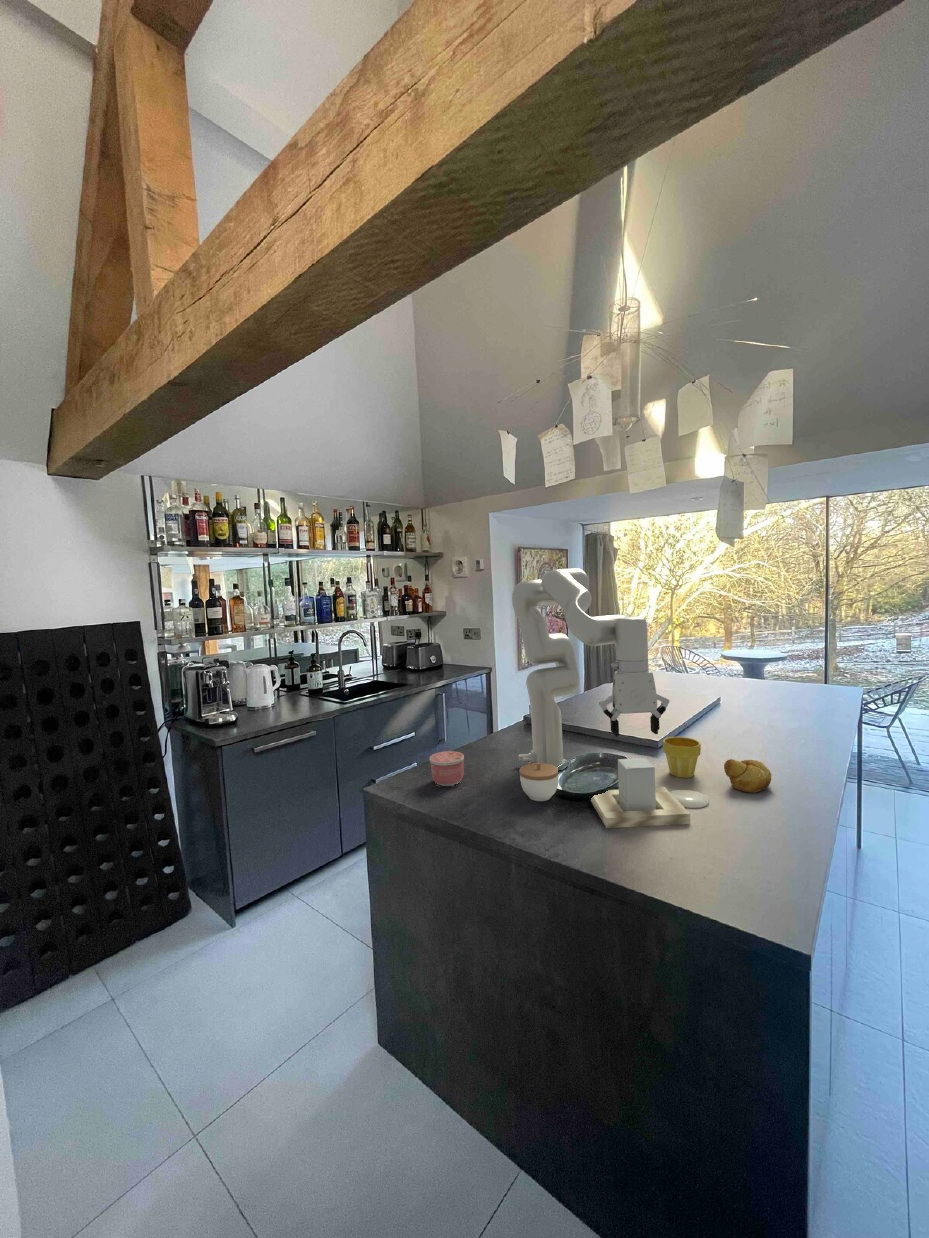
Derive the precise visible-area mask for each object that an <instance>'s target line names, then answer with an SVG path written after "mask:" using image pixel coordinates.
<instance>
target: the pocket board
mask: <svg viewBox="0 0 929 1238" xmlns="http://www.w3.org/2000/svg"><path fill="white" fill-rule="evenodd" d="M607 790H608V791H606V792H605V793H602V794H598V795H594V796H593V797H592V798H591V800H590V802H591V804H592V806H593V807H594V809H595V811H596V812H597V813H596V814H597V815H598V816H599V818H600V820H601V821H602V823H603V825H604V826H605V829H615V828H617V829H618V828H619V829H620V828H635V827H653V826H656V827H657V826H658V827H659V826H673V825H675V826H676V825H691V812H689V810H687V809H686V808H685V807H683V806H682V805H681V804H680V803H679V802H678V801H677V800H676V799H675V798H674V797H673V795H672V794H671V793H670V792H671V791H669V790H668V789H667V788H666V787H665V786H660V787H655V795H656V810H641V811H623V810H622V809H621V807H620V806H619V789H607Z"/></svg>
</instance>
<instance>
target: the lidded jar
mask: <svg viewBox="0 0 929 1238" xmlns="http://www.w3.org/2000/svg"><path fill="white" fill-rule="evenodd" d="M518 771H519V777H520V778H519V780H520V784H521V788H522V790H523V792H524V794H525V795H526V796H528V798H529V799H530V800H532V801H536V802H546V801H549V800H550V799H551V798H552V796H553V795H554V794H555V793H556V792H557V790H558V786H559V772H558V768H557V767H556V766H554V765H551V764H547V763H531V764H529V763H527V764H524V765H522V766H521V767H520V768H519V770H518Z"/></svg>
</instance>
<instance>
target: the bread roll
mask: <svg viewBox="0 0 929 1238" xmlns="http://www.w3.org/2000/svg"><path fill="white" fill-rule="evenodd" d="M723 769H724V772H725V775H726V776H727V777H728V778H729V780H730V784H731V786H732V787H733V788H734V789H736V790H739V791H741V792H746V793H751V794H752V793H757V792H760V791H762V790H764V789H766V788H768V787H769V786H770V784H771V781H772V772H771V771H770V769H769V768H768V767H767V766H766V764H764V763H763V762H762V761H759V760H754V759H744V760H741V761H739V760H735V759H733V758H731V759H727V760H726V761H725V762H724V765H723Z"/></svg>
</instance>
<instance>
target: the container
mask: <svg viewBox="0 0 929 1238" xmlns="http://www.w3.org/2000/svg"><path fill="white" fill-rule="evenodd" d="M464 755H465V754H464V753H462V752H459V751H453V750H445V751H440V752H436V753H433V754H431V755H430V756H429V762H430V771H431V777H432V780H433V781H434V783H435V784H436V783H437V784H440V785H454V784H458V783H459V782H460V781H461V782H462V780H463V778H464V774H465V773H464V768H465V766H464V760H465V756H464ZM461 782H460V783H461ZM458 785H459V784H458Z"/></svg>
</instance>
